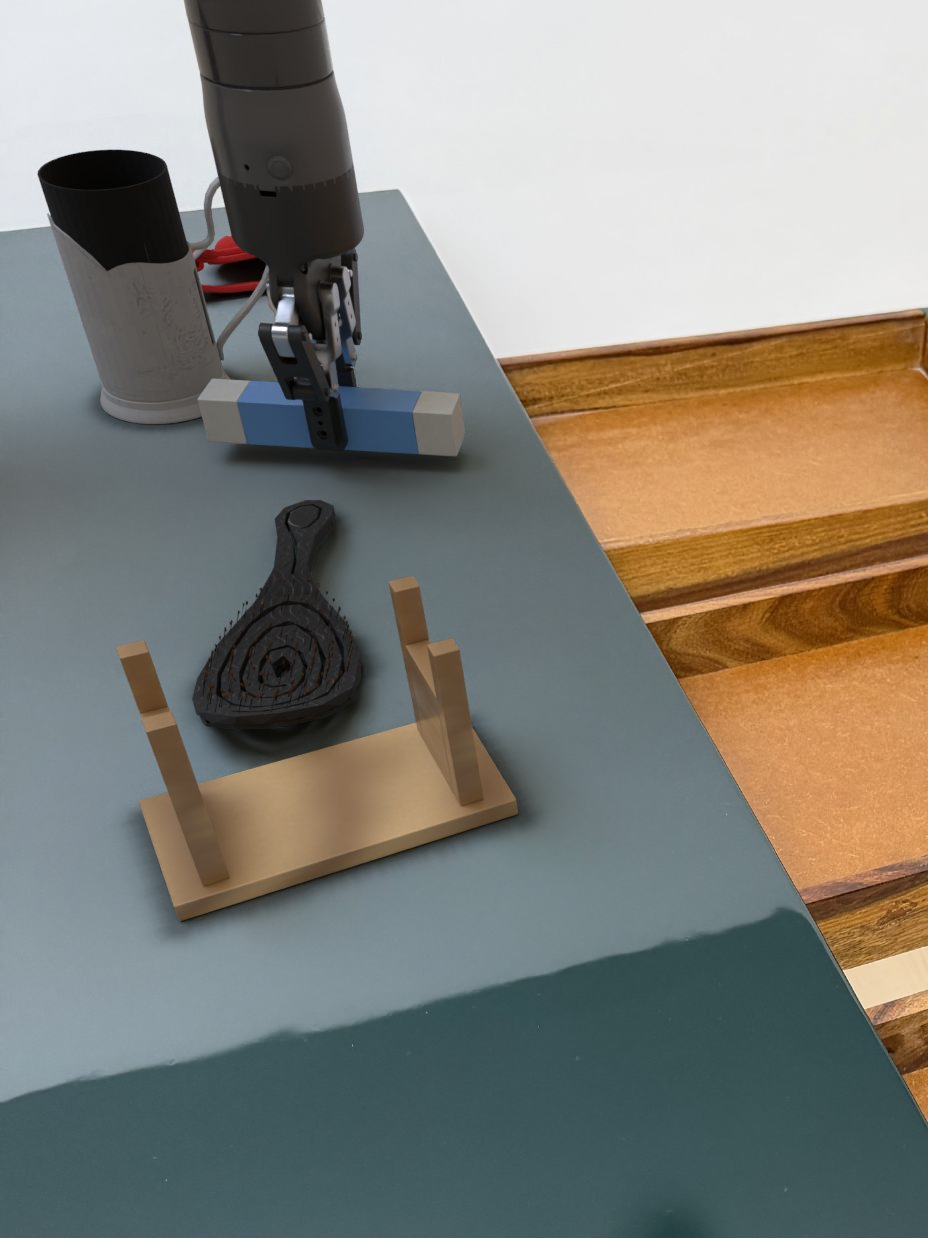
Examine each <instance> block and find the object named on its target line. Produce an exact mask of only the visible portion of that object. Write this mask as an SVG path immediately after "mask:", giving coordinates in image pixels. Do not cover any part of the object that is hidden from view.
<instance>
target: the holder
mask: <svg viewBox="0 0 928 1238" xmlns="http://www.w3.org/2000/svg"><path fill="white" fill-rule="evenodd" d="M388 587H389V593H390V597H391V602H392V608H393V612H394V618H395V623H396V628H397V634H398V638H399V643H400V644H399V645H400V648H401V652H402V653H401V654H402V659H403V663H404V668H405V673H406V678H407V684H408V689H409V694H410V699H411V704H412V709H413V710H412V711H413V715H414V719H415V722H412V723H409V724H406V725H405V724H404V725H402V726H397V727H394V728H391V729H388V730H383V731H379V732H376V733H373V734H370V735H366V736H363V737H359V738H356V739H351V740H348V741H345V742H341V743H338V744H333V745H331V746H327V747H324V748H319V749H316V750H313V751H310V752H306V753H303V754H298V755H295V756H292V757H288V758H284V759H281V760H277V761H273V762H269V763H266V764H263V765H260V766H256V767H252V768H248V769H246V770H242V771H238V772H234V773H231V774H227V775H224V776H221V777H217V778H213V779H210V780H207V781H202V782H199V783H198V781H197V779H196V776H195V773H194V770H193V767H192V764H191V761H190V758H189V756H188V752H187V749H186V747H185V744H184V741H183V738H182V735H181V733H180V729H179V727H178V724H177V721H176V718H175V716H174V713H173V711H172V710H170V707H169V705H168V702H167V699H166V696H165V693H164V690H163V687H162V684H161V682H160V678H159V677H158V674H157V670H156V668H155V664H154V661H153V659H152V656H151V653H150V650H149V648H148V644H147V642H146V641H145V640H144V639H142V640H138V641H134V642H130V643H125V644H122V645H118V646H116V647H115V649H116V650H115V651H116V652H117V656H118V659H119V661H120V663H121V666H122V670H123V671H124V674H125V678H126V680H127V683H128V686H129V688H130V691H131V693H132V696H133V699H134V702H135V704H136V707H137V710H138V712H139V715H140V718H141V723H142V725H143V728H144V732H145V734H146V737H147V740H148V742H149V745H150V747H151V750H152V753H153V756H154V758H155V761H156V763H157V767H158V769H159V772H160V775H161V777H162V780H163V783H164V786H165V788H166V791H167V792H164V793H161V794H157V795H152V796H150V797H149V796H148V797H147V798H142V799H140V800H138V805H139V807H140V810H141V813H142V816H143V819H144V823H145V826H146V829H147V831H148V835H149V837H150V840H151V843H152V846H153V849H154V852H155V855H156V858H157V862H158V864H159V868H160V870H161V873H162V876H163V879H164V882H165V885H166V888H167V892H168V894H169V897H170V900H171V903H172V906H173V909H174V911H175V914H176V916H177V919H178V921H180V922H183V921H186V920H189V919H191V918H195V917H199V916H202V915H204V914H208V913H211V912H214V911H217V910H220V909H224V908H227V907H230V906H233V905H236V904H239V903H243V902H245V901H248V900H252V899H255V898H258V897H261V896H264V895H268V894H271V893H274V892H277V891H280V890H283V889H287V888H290V887H293V886H296V885H299V884H303V883H305V882H309V881H312V880H314V879H318V878H322V877H324V876H328V875H331V874H333V873H337V872H340V871H343V870H347V869H350V868H353V867H356V866H359V865H363V864H366V863H369V862H371V861H375V860H378V859H382V858H384V857H387V856H391V855H394V854H397V853H400V852H403V851H406V850H409V849H413V848H416V847H418V846H422V845H425V844H429V843H432V842H434V841H435V842H436V841H438V840H441V839H444V838H447V837H450V836H454V835H457V834H460V833H463V832H467V831H469V830H473V829H475V828H479V827H482V826H486V825H488V824H491V823H494V822H498V821H500V820H504V819H507V818H510V817H513V816H516V815H518V814H519V807H518V801H517V799H516V796H515V795H514V793H513V792H512V790H511V789H510V787H509V785H508V784H507V782H506V780H505V778H504V777H503V776H502V774H501V772H500V770H499V769H498V767H497V765H496V764H495V762H494V760H493V759H492V757H491V755H490V754H489V753H488V750H487V749H486V747H485V745H484V743H483V742H482V740H481V739H480V737H479V735H478V734H477V732H476V731H475V729H474V728H473V724H472V718H471V712H470V711H471V710H470V705H469V699H468V693H467V686H466V680H465V675H464V668H463V662H462V656H461V649H460V648H459V647H458V645H457V643H456V642H455V640H454V639H453V638H451V637H450V638H447V639H444V640H440V641H439V640H438V641H435V642H432V641H431V640H430V639H429V638H430V636H429V632H428V626H427V620H426V615H425V609H424V604H423V598H422V594H421V593H422V592H421V586H420V584H419V583H418V581H417V580H416V578H415V577H414V576H413V575H410V576H406V577H401V578H397V579H392V580H389V581H388Z"/></svg>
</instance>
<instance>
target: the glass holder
mask: <svg viewBox="0 0 928 1238" xmlns="http://www.w3.org/2000/svg"><path fill="white" fill-rule="evenodd" d="M37 178H38V180H39V183H40V187H41V190H42V193H43V196H44V199H45V202H46V205H47V208H48V212H49V213H46V216H47V219H48V221H49V225H50V228H51V231H52V234H53V237H54V240H55V243H56V246H57V249H58V253H59V255H60V259H61V262H62V265H63V268H64V272H65V274H66V277H67V280H68V283H69V287H70V290H71V293H72V295H73V299H74V302H75V305H76V308H77V311H78V314H79V318H80V320H81V321H80V322H81V323H82V327H83V329H84V333H85V336H86V340H87V342H88V345H89V348H90V351H91V354H92V357H93V361H94V364H95V366H96V371H97V373H98V377H99V380H100V382H101V384H100V385H101V391H100V399H99V401H100V406H101V408H102V409H103V411H104V412H105V413H107V414H108V415H110V416H111V417H113V418H114V419H115V418H116V419H117V420H120V421H125V422H128V423H134V424H143V425H165V424H176V423H180V422H187V421H190V420H194V419H198V418H202V415H201V411H200V407H199V404H198V400H197V399H198V397H199V396H200V395H201V393H202V392H203V390H204V389H205V388H206V386H207V385H208V383H209V382H210V381H211V379H229V380H232V379H231V378H230V377H229V375H228V374H227V373H226V371H225V370H224V368H223V365H222V362H223V361H225V355H224V346H225V344H226V343H227V341H228V339H229V338H230V336H231V335H232V334H233V332H234V331H235V330H236V329H237V328H238V326H239V325H240V324H241V322H242V321H243V320H244V319H245V318H246V317H247V315H248V314H249V313H250V312H251V311H252V309H253V308H254V306H255V305H256V303H258V301H259V300H260V298H261V297H262V296H263V294H264V292H266V290H267V289H266V284H267V280H268V279H269V274H268V272H269V268H268V266H267V265H266V264H265V268H264V271H263V273H262V276H261V279H260V280H261V281H260V282H259V284H258V286H257V287H256V289H255V290H253V292H252V293H251V295H250V296H249V298H248V299H247V301H246V302H244V305H243V306H241V308H240V309H239V310H238V311H237V313H236V314H235V315H234V316H233V317H232V318H231V320H230V321H229V322H228V323H227V325H226V326H225V328H224V329H223V330H222V332H221V333H220V334H219V336H218V338H217V340H216V337H215V334H214V330H213V327H212V322H211V319H210V314H209V311H208V306H207V303H206V299H205V295H204V292H203V291H202V287H201V285H202V284H201V280H200V276H199V272H197V268H196V264H195V260H194V256H193V252H192V251H195V250H201V249H204V248H206V247H208V246H209V247H210V246H211V245H212V244H213V242H214V241H215V236H216V231H215V225H214V218H213V210H212V208H213V199H214V197H215V194H216V193H217V190H218V189H219V188H221V187H220V183H219V178H218V176H216V177H215V178H214V179H213V180H212V181H211V183H209V185H208V187H207V189H206V191H205V193H204V198H203V199H204V200H203V211H204V219H205V223H206V228H207V235H206V236H205V238H204V239H202V240H200V241H196V242H189V241H188V240H187V237H186V233H185V229H184V225H183V222H182V217H181V213H180V210H179V206H178V202H177V198H176V195H175V191H174V187H173V183H172V179H171V176H170V172H169V168H168V164H167V163H166V161H165V160H164V159H163V158H161V157H160V156H157V155H155V154H152V153H148V152H144V151H139V150H131V149H96V150H94V149H93V150H87V151H80V152H75V153H70V154H66V155H62V156H59V157H56V158H54V159H51V160H50V161H47V162H45V163H44V164H43V165H41V166H40V168H39V169H38V170H37ZM209 247H208V248H209Z"/></svg>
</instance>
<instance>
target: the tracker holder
mask: <svg viewBox="0 0 928 1238" xmlns="http://www.w3.org/2000/svg"><path fill="white" fill-rule="evenodd" d="M209 247H210V246H208V247H206V248H204V249H201V250H195V251H192V252H193V256H194V260H195V264H196V268H197V272H198V273H199V272H201V271H203V270H204V268H205V264H208V265H209V266H218V265H226V264H231V263H238V262H241V261H249V260H252V259H257V257H256V256H254V255H250V254H248V253H246V252H244V251H243V250H242V249H240V248H239V247H238V246H237V245H236V244H235V242H234V241H233V238H232V235H231V234H229V235H225V236H223V237H221V238H220V239H219V240H218V241H217V242H216V243H215V245H214V248H212V249H208V248H209ZM260 281H261V279H260V280H252V281H244V282H236V283H235V282H234V283H227V284H220V285H216V284H215V285H212V284H211V285H210V284H201V287H202V291H203V293H214V294H215V293H216V294H233V293H234V294H236V293H243V292H250V291H251V292H252V291H255V289H256V287H257V286H258V284H259V282H260Z"/></svg>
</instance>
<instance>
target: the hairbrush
mask: <svg viewBox="0 0 928 1238" xmlns="http://www.w3.org/2000/svg"><path fill="white" fill-rule="evenodd" d="M274 524H275V530H276V544H275V545H276V546H275V554H274V561H273V568H272V570H271V572H270V574H269V575H268V577H267V579H266V581H265V583H264V584H263V586H262V587H260V588H259V594H258V593H257V592H256V593H255V598H256V599H255V600H254V602H253V603H252V604H251V605H249V608H248V609H245V610H244V607H245V605H246V607H247V606H248V604H249V601H248V600H247V599H246V601H245V603H244V602H242V610H241V611H240V610H239V609H238V610H237V616H236V622H235V623H234V621H233V620H232V619H231V620H230V621H229V629H228V630H227V627H226V626H225V627H224V629H223V631H224V632H223V633H224V634H223V637H222V636H221V635H219V636H218V639H219V641H218V643H215V644H214V647H215V648H214V649H212V650H211V652H210V654H211V655H209V657H208V659H207V662H206V663H205V664H204V666H203V668H202V670H201V671H200V672H199V675H198V676H197V678H196V682H195V686H194V690H193V694H192V698H191V700H192V703H193V707H194V710H195V711H194V712H195V714H196V715H197V716H199V718H200V720H201V722H202V723H203V725H204V726H205V727H211V728H218V729H226V730H227V729H228V730H235V731H236V730H237V731H238V730H259V729H261V730H263V729H280V728H284V727H288V726H294V725H299V724H303V723H309V722H312V721H318V720H323V719H327V718H329V717H331V716H332V715H334V714H335V713H337V712H339V711H341V710H342V709H344V708H345V707H347V706H349V705H351V704H352V703H353V702H355V701H357V700H358V695H359V688H360V684H361V682H362V673H363V667H364V664H363V661H362V658H361V657H362V656H361V651H360V649H359V647H358V645H357V643H356V641H355V639H354V636H353V633H352V632H353V630H351V629H350V624H349V620H346V619H347V616H345V615H343V616H341V615H340V612H341V610H342V607H341V606H340V605H339V606H338V608H337V610H335V608H334V607H333V606H334V605H331V603H330V602H329V601H328V600H327V599H326V597H324V595H323V594H321V592H320V590H319V588H320V587H321V585H320V582H319V583H317V582H316V581H315V578H314V577H313V574H312V572H313V569H314V565H315V562H316V558H317V556H318V552H319V548H320V546H321V545H322V544H323V543H324V541H325V540H326V539H327V538H328V537H329V535H331V533H332V532H333V531H334V530H335V528H336V512H335V506H334V505H333V504H331V503H328V502H327V501H324V500H321V499H305V500H304V499H303V500H301V501H299V502H296V503H294V504H291V505H287V506H285V507H283V508H282V509H281V511H280V512H279V513H278V514H277V515H276V517H274ZM293 540H294V541H293ZM294 543H295V545H296V550H295V545H294ZM328 594H329V590H326V591H325V595H328ZM335 601H336V598H335V597H333V598H332V602H333V603H334V602H335ZM243 611H244V613H242V614H241V615H240V613H241V612H243ZM239 615H240V617H239ZM233 623H234V625H233ZM337 641H338V643H339V645H340V648H341V650H342V653H343V657H342V655H341V654H342V653H341V651H340V649H339V646H338V643H337ZM320 653H321V654H320ZM321 655H322V656H323V657H324V658H325V662H324V666H323V661H322V657H321ZM343 661H344V662H343ZM305 668H306V670H305ZM283 670H284V673H285V676H284V677H282V675H280V674H282V673H283ZM279 675H280V676H279ZM244 690H245V691H244Z"/></svg>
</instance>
